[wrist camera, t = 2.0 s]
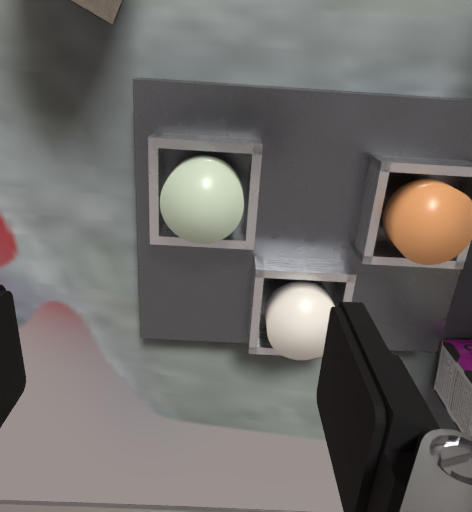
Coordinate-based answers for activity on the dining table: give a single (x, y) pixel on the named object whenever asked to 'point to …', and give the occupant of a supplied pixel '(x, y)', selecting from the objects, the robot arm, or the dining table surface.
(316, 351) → the cream button
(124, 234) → the dining table surface
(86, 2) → the condiment
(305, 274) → the button panel
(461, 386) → the candy bar box
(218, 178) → the sage button
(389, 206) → the terracotta button
